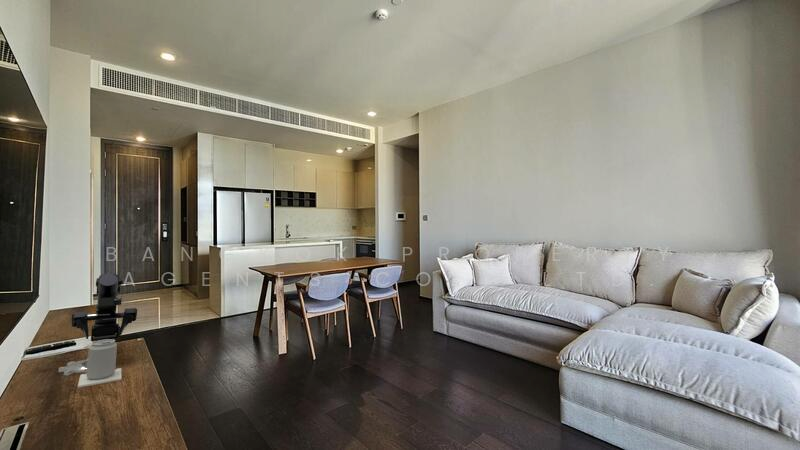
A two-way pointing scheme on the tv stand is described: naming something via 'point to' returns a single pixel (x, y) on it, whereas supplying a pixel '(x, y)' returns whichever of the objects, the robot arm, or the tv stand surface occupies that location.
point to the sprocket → (75, 367)
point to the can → (101, 359)
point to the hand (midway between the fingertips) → (104, 336)
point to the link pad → (87, 381)
